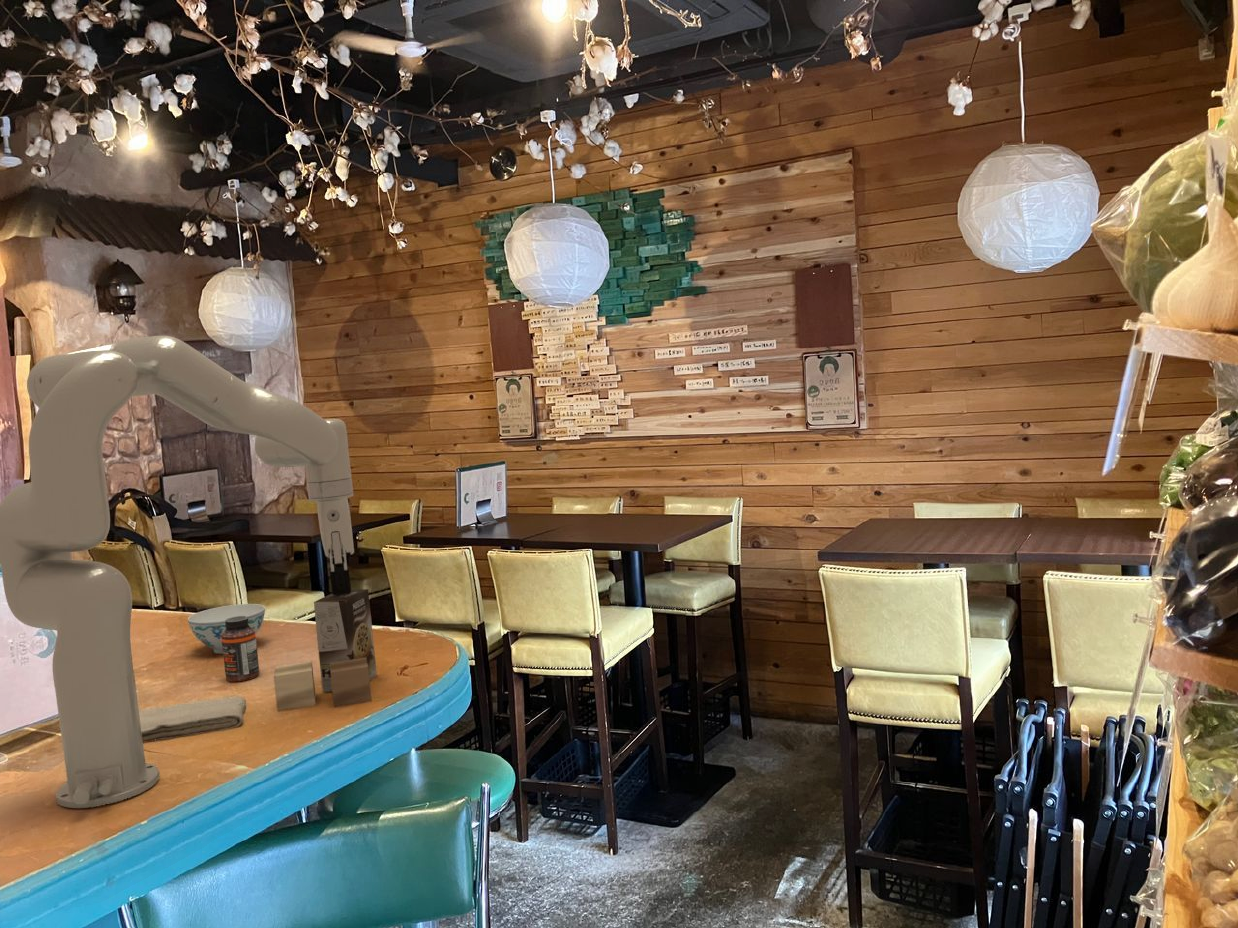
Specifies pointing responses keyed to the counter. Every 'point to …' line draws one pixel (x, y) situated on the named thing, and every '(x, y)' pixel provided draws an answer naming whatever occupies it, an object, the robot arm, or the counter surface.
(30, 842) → the counter surface
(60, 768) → the counter surface
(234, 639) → the supplement bottle
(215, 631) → the chinaware
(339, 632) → the coffee box
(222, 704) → the washcloth
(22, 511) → the robot arm
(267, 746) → the counter surface
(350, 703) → the walnut cube
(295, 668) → the beech cube
